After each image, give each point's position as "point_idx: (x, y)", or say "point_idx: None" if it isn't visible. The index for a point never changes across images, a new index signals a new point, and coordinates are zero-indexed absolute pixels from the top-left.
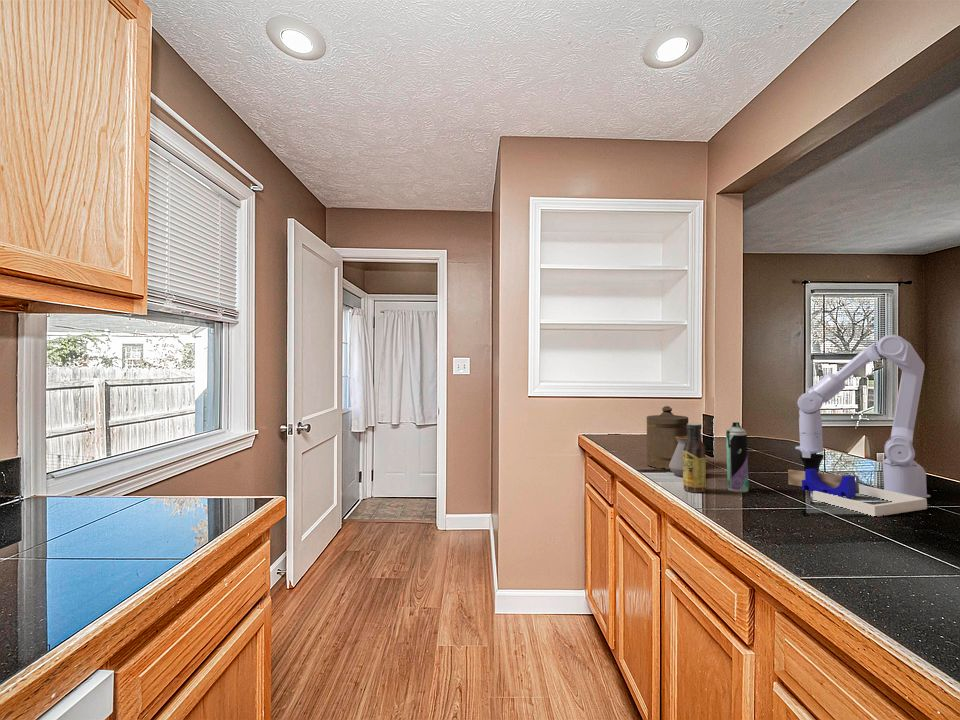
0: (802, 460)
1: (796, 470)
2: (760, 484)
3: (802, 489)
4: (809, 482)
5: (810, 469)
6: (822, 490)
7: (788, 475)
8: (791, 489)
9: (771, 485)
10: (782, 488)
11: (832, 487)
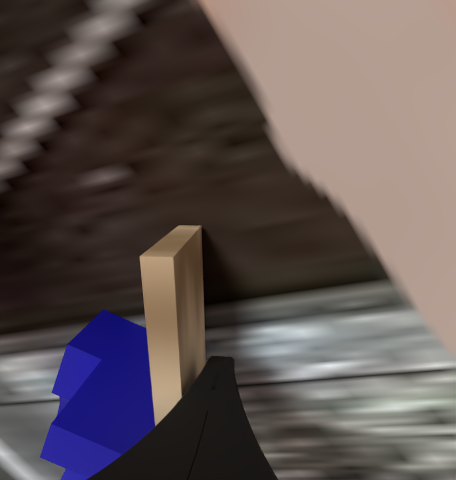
0: (103, 473)
1: (172, 320)
2: (77, 58)
3: (100, 313)
4: (58, 382)
5: (80, 457)
6: (58, 414)
7: (157, 244)
8: (76, 262)
9: (99, 134)
10: (64, 214)
11: None
